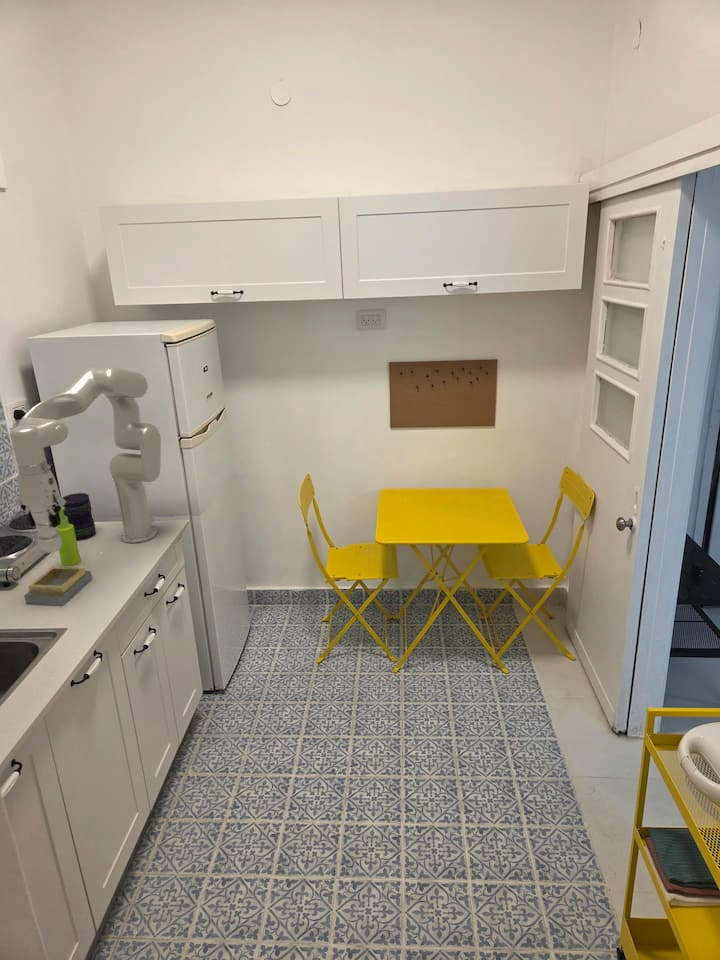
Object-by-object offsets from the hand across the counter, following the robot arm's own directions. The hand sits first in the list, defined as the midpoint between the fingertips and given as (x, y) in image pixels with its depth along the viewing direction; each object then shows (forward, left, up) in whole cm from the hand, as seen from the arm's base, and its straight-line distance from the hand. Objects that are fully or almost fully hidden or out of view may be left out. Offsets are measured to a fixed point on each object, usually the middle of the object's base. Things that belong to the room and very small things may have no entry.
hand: (45, 524), depth 186 cm
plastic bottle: (0, 0, -9) cm, 9 cm away
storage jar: (-39, -16, -23) cm, 48 cm away
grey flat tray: (0, 0, -23) cm, 23 cm away
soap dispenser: (-18, -8, -23) cm, 30 cm away
